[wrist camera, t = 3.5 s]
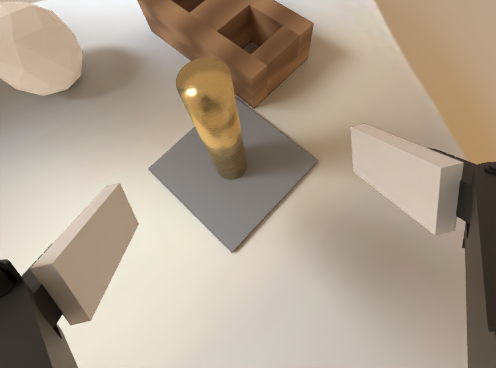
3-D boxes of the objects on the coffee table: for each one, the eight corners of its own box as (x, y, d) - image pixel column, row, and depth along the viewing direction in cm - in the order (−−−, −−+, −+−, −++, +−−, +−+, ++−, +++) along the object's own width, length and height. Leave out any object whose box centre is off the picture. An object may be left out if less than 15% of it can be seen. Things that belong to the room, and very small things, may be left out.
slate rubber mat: (149, 170, 28) (147, 168, 27) (231, 96, 30) (231, 94, 30) (232, 252, 24) (231, 252, 24) (317, 161, 27) (317, 160, 26)
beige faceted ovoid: (105, 32, 32) (26, 40, 35) (27, -30, 23) (-71, -13, 26) (100, 104, 32) (21, 106, 35) (19, 68, 23) (-78, 76, 26)
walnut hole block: (151, 30, 34) (135, -5, 30) (202, -9, 36) (193, -47, 32) (254, 108, 29) (251, 79, 25) (307, 58, 31) (313, 23, 27)
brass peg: (208, 165, 27) (165, 82, 16) (231, 144, 28) (204, 49, 16) (231, 186, 26) (202, 112, 15) (253, 163, 27) (242, 76, 15)
